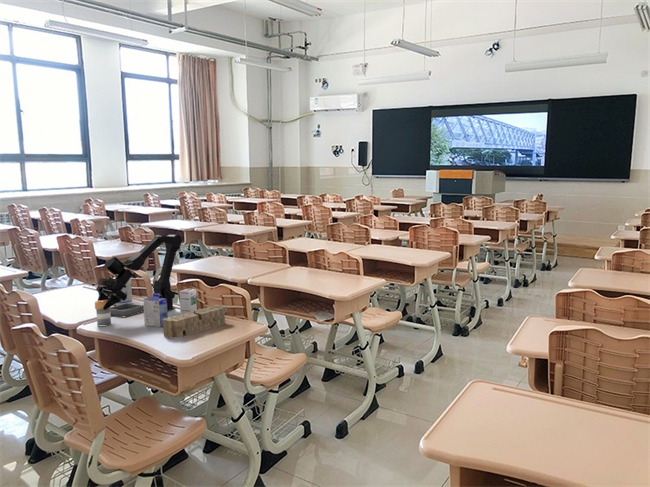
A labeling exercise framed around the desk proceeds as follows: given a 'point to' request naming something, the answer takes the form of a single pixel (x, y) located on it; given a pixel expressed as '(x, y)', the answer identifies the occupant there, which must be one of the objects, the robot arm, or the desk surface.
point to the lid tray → (126, 309)
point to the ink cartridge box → (155, 311)
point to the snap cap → (100, 304)
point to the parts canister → (103, 317)
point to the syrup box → (188, 301)
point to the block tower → (194, 321)
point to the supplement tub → (128, 292)
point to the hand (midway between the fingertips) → (100, 308)
